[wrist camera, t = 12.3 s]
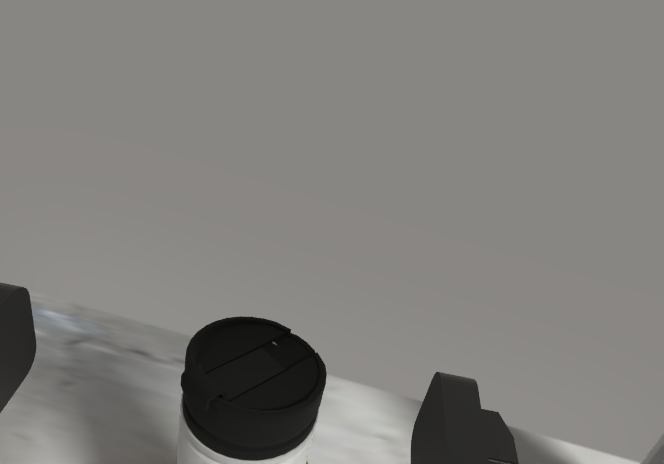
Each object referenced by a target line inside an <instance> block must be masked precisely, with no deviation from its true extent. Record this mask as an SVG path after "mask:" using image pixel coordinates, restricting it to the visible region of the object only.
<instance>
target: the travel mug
mask: <svg viewBox="0 0 664 464" xmlns="http://www.w3.org/2000/svg"><path fill="white" fill-rule="evenodd" d="M290 332H291V329H289V328H287V327H285V326H283V325H281V324H279V323H277V322H274V321H270V320H266V319H261V318H255V317H232V318H226V319H222V320H218V321H215V322H213V323H211V324H209V325H206V326H205V327H204V328H202V329H201V330H200V331H198V332H197V333H196V334H195V335H194V337H193V338H192V339H191V341H190V343H189V345H188V347H187V351H186V359H185V371H184V372H183V374H182V376H181V387H182V390H183V394H182V399H181V408H180V422H179V435H178V449H177V463H176V464H306V461H307V458H308V454H309V450H310V446H311V442H312V438H313V435H314V429H315V427H316V423H317V418H318V409H319V406H320V403H321V399H322V395H323V391H324V388H325V384H326V375H327V374H326V368H325V364H324V363H323V361H322V359H321V358H320V356H319V354H318V353H315V351H314V349H312V348H311V346H310V345H308V343H307V342H305V341H304V340H303V339H301V338H300V337H299V336H297V335H294V334H292V333H290Z"/></svg>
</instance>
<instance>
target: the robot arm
mask: <svg viewBox="0 0 664 464" xmlns="http://www.w3.org/2000/svg"><path fill="white" fill-rule="evenodd" d="M35 353H36V338H35V331H34V324H33V316H32V309H31V302H30V295H29V292H28V290H27V289H26V288H24V287H19V286H14V285H9V284H4V283H0V413H1V411H2V410H3V408H4V407H5V406H6V404H7V403H8V401H9V400H10V398H11V397H12V396H13V394H14V393H15V391H16V390H17V389H18V387H19V386H20V384H21V383H22V381H23V380H24V379H25V377H26V376H27V374H28V372H29V370H30V368H31V366H32V364H33V361H34V357H35ZM411 464H518V458H517V453H516V448H515V443H514V438H513V436H512V434H511V432H510V431H509V429H508V427H507V426H506V424H505V423H504V421H503V419H502V418H501V416H500V414H499V413H498V412H494V411H489V410H484V409H481V406H480V398H479V392H478V386H477V383H476V381H475V380H474V379H470V378H465V377H460V376H455V375H450V374H445V373H440V372H436V373H435V375H434V377H433V379H432V381H431V384H430V386H429V389H428V392H427V394H426V396H425V399H424V401H423V404H422V406H421V409H420V411H419V414H418V416H417V419H416V421H415V425H414V429H413V434H412V441H411ZM640 464H664V433H663V434H662V436H661V437H660V438H659V439H658V441H657V442H656V443H655V445H654V446H653V447H652V449H651V450H650V451H649V453H648V454H647V455H646V456H645V458H644V459H643V460H642V462H641V463H640Z"/></svg>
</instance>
